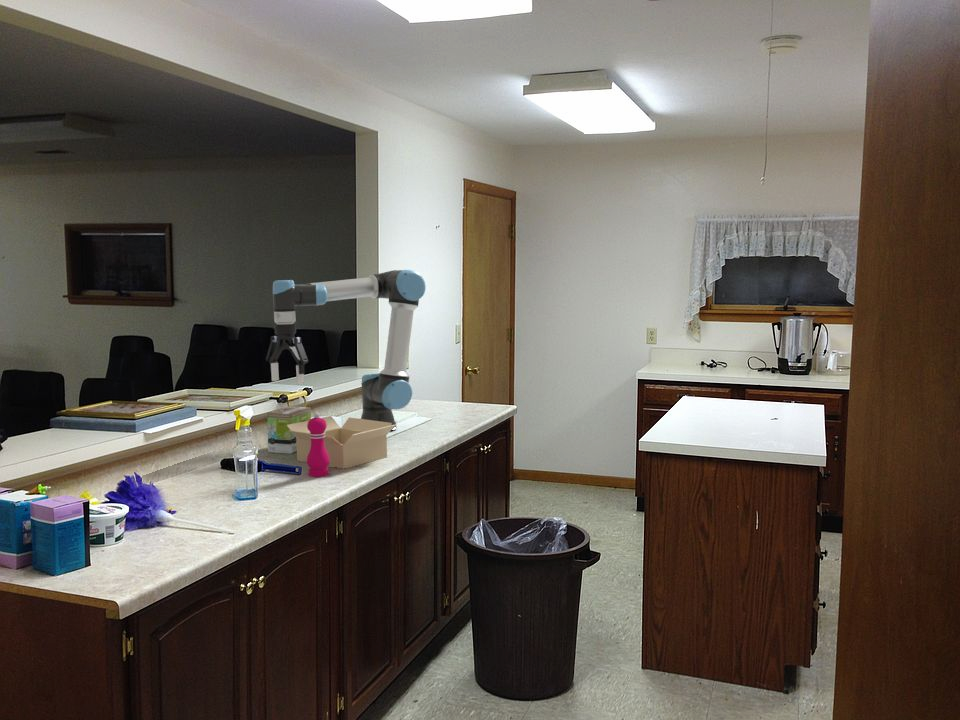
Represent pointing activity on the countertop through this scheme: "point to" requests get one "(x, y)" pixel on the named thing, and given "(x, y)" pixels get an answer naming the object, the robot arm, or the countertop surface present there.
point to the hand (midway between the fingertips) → (287, 382)
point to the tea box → (285, 428)
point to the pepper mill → (317, 448)
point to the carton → (346, 441)
